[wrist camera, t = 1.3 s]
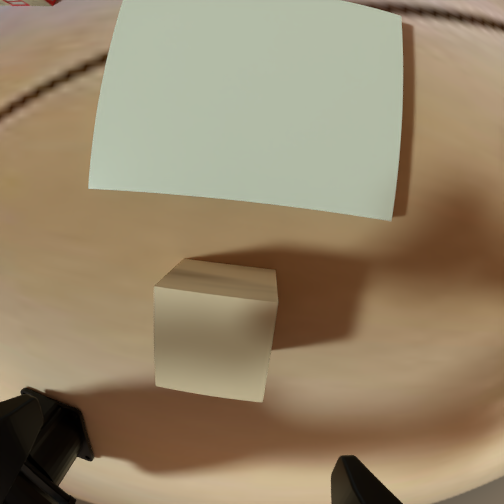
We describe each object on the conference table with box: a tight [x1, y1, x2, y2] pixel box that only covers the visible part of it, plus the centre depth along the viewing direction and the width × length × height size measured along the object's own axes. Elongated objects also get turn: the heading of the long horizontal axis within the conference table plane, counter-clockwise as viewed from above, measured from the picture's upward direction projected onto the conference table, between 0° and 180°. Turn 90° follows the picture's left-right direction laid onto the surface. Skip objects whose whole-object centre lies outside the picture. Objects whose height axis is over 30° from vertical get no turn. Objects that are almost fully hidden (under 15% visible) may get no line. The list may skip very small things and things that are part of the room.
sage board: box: [88, 0, 403, 221], centre depth 15 cm, size 12×16×1 cm
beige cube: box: [154, 259, 278, 402], centre depth 15 cm, size 5×5×5 cm
